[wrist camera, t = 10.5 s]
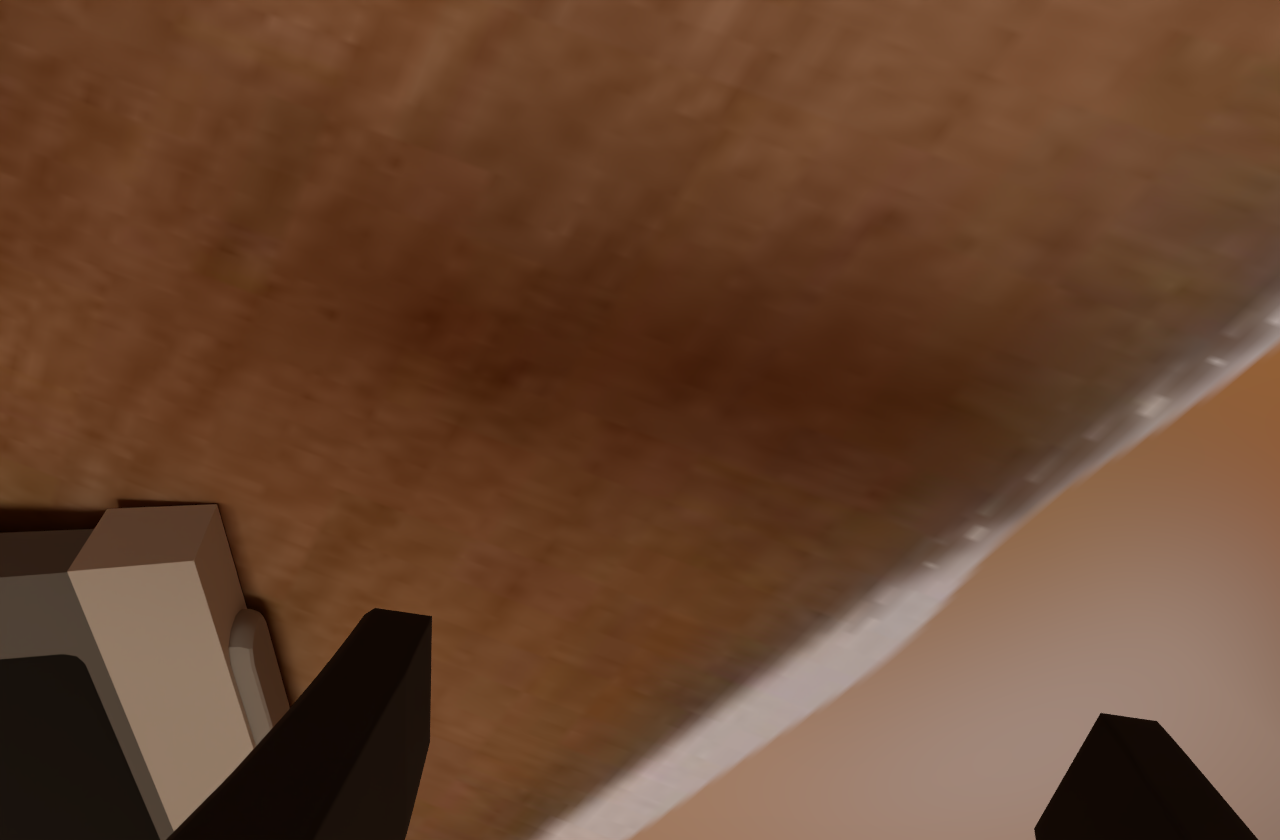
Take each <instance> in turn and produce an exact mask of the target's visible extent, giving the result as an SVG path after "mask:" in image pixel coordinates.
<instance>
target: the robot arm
mask: <svg viewBox="0 0 1280 840" xmlns="http://www.w3.org/2000/svg"><path fill="white" fill-rule="evenodd" d="M431 636H432V616H426V615H419V614H412V613H406V612H399V611H392V610H385V609H378V608H375V609H373V610H371V611H370V612H368V613H366V614H365V615H364V616H363V617H362V619H361V620H360V622H359V623H358V624H357V626H356V627H355V628H354V630H353V631H352V632H351V634H350V635H349V636H348V638H347V639H346V640H345V642H344V643H343V644H342V645H341V647H340V648H339V649H338V651H337V652H336V653H335V655H334V656H333V657H332V658H331V660H330V661H329V662H328V663H327V665H326V666H325V667H324V668H323V669H322V671H321V672H320V673H319V674H318V676H317V677H316V678H315V679H314V680H313V682H312V683H311V684H310V685H309V686H308V688H307V689H306V690H305V691H304V692H303V694H302V695H301V696H300V697H299V698H298V699H297V701H296V702H295V703H294V704H293V705H292V707H291V708H290V709H289V710H288V711H287V712H286V713H285V715H284V716H283V717H282V718H281V719H280V720H279V721H278V722H277V723H276V725H275V726H274V727H273V728H272V729H271V730H270V731H269V732H268V733H267V735H266V736H265V737H264V738H263V739H262V740H261V741H260V742H259V743H258V745H257V746H256V747H255V748H254V749H253V750H252V751H251V752H250V753H249V755H248V756H247V757H246V758H245V759H244V760H243V761H242V762H241V763H240V765H239V766H238V767H237V768H236V769H235V770H234V771H233V772H232V773H231V774H230V775H229V776H228V777H227V778H226V779H225V781H224V782H223V783H222V784H221V785H220V786H219V787H218V788H217V789H216V790H215V791H214V792H213V793H212V794H211V795H210V796H209V797H208V798H207V799H206V800H205V801H204V802H203V803H202V804H201V805H200V806H199V807H198V808H197V809H196V810H195V811H194V812H193V813H192V814H191V815H190V816H189V817H188V818H187V819H186V820H185V821H184V822H183V823H182V824H181V825H180V826H179V827H178V828H177V829H176V830H175V831H174V832H173V833H172V834H171V835H170V836H169V837H168V838H167V839H166V840H405V837H406V834H407V830H408V826H409V822H410V819H411V815H412V811H413V807H414V803H415V799H416V795H417V792H418V787H419V783H420V779H421V775H422V771H423V767H424V763H425V759H426V755H427V751H428V747H429V743H430V699H431ZM1034 830H1035V836H1036V840H1258V839H1257V838H1256V837H1255V835H1254V834H1253V833H1252V832H1251V831H1250V829H1249V828H1248V827H1247V826H1246V825H1245V823H1244V822H1243V821H1242V820H1241V819H1240V818H1239V816H1238V815H1237V814H1236V813H1235V812H1234V810H1233V809H1232V808H1231V807H1230V806H1229V804H1228V803H1227V802H1226V801H1225V800H1224V799H1223V797H1222V796H1221V795H1220V794H1219V793H1218V791H1217V790H1216V789H1215V788H1214V787H1213V785H1212V784H1211V783H1210V782H1209V781H1208V779H1207V778H1206V777H1205V776H1204V775H1203V774H1202V772H1201V771H1200V770H1199V769H1198V768H1197V766H1195V764H1194V763H1193V762H1192V761H1191V759H1190V758H1189V757H1188V756H1187V755H1186V754H1185V752H1184V751H1183V750H1182V749H1181V748H1180V747H1179V745H1178V744H1177V743H1176V742H1175V741H1174V740H1173V739H1172V738H1171V736H1170V735H1169V734H1168V733H1167V732H1166V731H1165V730H1164V728H1163V727H1162V726H1161V725H1160V724H1159V723H1158V722H1157V721H1152V720H1145V719H1138V718H1130V717H1124V716H1117V715H1111V714H1103V713H1100V715H1099V717H1098V719H1097V721H1096V722H1095V724H1094V726H1093V727H1092V729H1091V731H1090V733H1089V734H1088V736H1087V738H1086V740H1085V741H1084V743H1083V745H1082V747H1081V748H1080V750H1079V752H1078V753H1077V755H1076V757H1075V759H1074V760H1073V762H1072V764H1071V766H1070V767H1069V769H1068V771H1067V773H1066V775H1065V776H1064V778H1063V779H1062V781H1061V783H1060V785H1059V787H1058V788H1057V790H1056V792H1055V794H1054V795H1053V797H1052V799H1051V800H1050V802H1049V804H1048V806H1047V807H1046V809H1045V811H1044V813H1043V814H1042V816H1041V818H1040V819H1039V821H1038V823H1037V825H1036V827H1035V828H1034Z"/></svg>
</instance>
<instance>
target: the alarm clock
mask: <svg viewBox="0 0 1280 840" xmlns="http://www.w3.org/2000/svg"><path fill="white" fill-rule="evenodd" d="M289 709H290V706H289V703H288V699H287V696H286V692H285V688H284V685H283V681H282V677H281V674H280V670H279V667H278V663H277V659H276V656H275V652H274V648H273V645H272V641H271V637H270V634H269V630H268V627H267V623H266V621H265V619H264V617H263V616H262V614H261V613H260V612H258V611H255V610H253V609H247V607H246V603H245V600H244V596H243V593H242V589H241V586H240V582H239V579H238V575H237V572H236V568H235V565H234V561H233V558H232V555H231V551H230V548H229V544H228V541H227V537H226V534H225V530H224V527H223V523H222V520H221V516H220V513H219V509H218V506H217V504H210V505H186V506H162V507H138V508H114V509H107V510H106V511H105V513H104V515H103V516H102V518H101V519H100V521H99V522H98V524H97V526H96V527H95V529H81V530H57V531H33V532H9V533H0V840H166V839H167V838H168V837H169V836H170V835H171V834H172V833H173V832H174V831H175V830H176V829H177V828H178V827H179V826H180V825H181V824H182V823H183V822H184V821H185V820H186V819H187V818H188V817H189V816H190V815H191V814H192V813H193V812H194V811H195V810H196V809H197V808H198V807H199V806H200V805H201V804H202V803H203V802H204V801H205V800H206V799H207V798H208V797H209V796H210V795H211V794H212V793H213V792H214V791H215V790H216V789H217V788H218V787H219V786H220V785H221V784H222V783H223V782H224V781H225V779H226V778H227V777H228V776H229V775H230V774H231V773H232V772H233V771H234V770H235V769H236V768H237V767H238V766H239V765H240V763H241V762H242V761H243V760H244V759H245V758H246V757H247V756H248V755H249V753H250V752H251V751H252V750H253V749H254V748H255V747H256V746H257V745H258V743H259V742H260V741H261V740H262V739H263V738H264V737H265V736H266V735H267V733H268V732H269V731H270V730H271V729H272V728H273V727H274V726H275V725H276V723H277V722H278V721H279V720H280V719H281V718H282V717H283V716H284V715H285V713H286V712H287V711H288V710H289Z"/></svg>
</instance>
